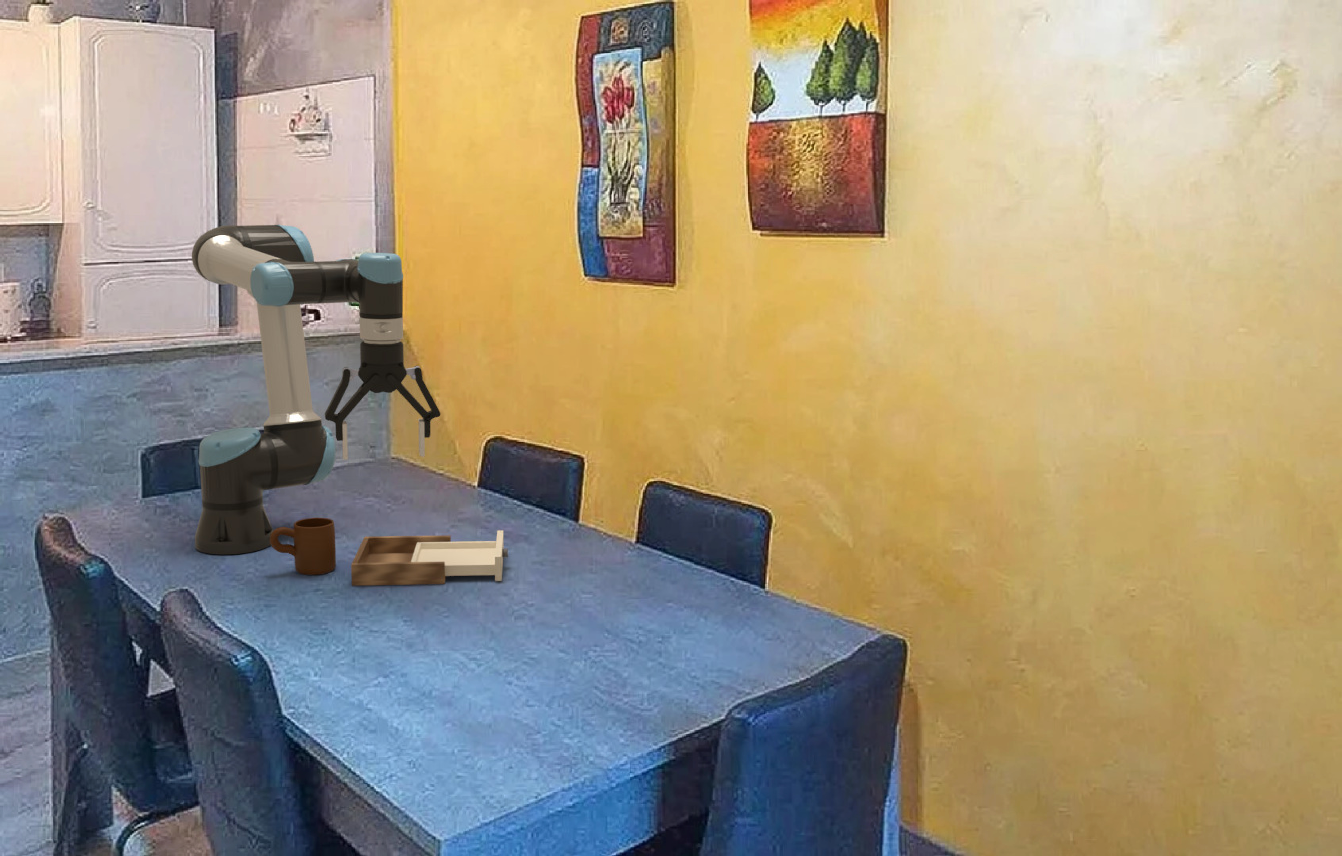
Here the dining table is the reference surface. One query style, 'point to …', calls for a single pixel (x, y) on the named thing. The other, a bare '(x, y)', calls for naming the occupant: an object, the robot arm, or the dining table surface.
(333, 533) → the mug
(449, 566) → the drawer
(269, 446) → the robot arm
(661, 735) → the dining table surface
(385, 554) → the frame
